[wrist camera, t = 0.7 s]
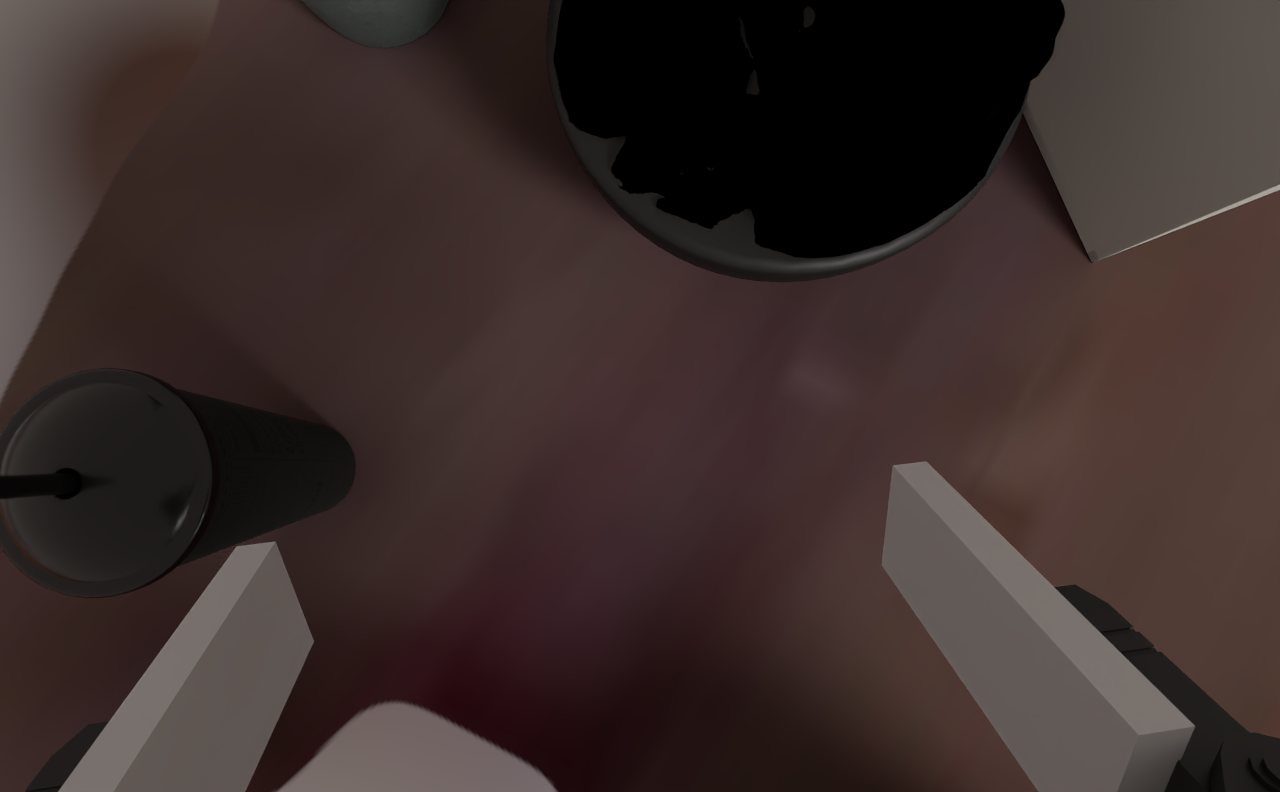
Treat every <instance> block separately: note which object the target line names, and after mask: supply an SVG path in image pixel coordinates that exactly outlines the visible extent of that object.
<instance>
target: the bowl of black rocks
mask: <svg viewBox="0 0 1280 792" xmlns="http://www.w3.org/2000/svg"><path fill="white" fill-rule="evenodd" d="M1064 18H1065V9H1064V5H1063V3H1062V2H1061V0H551V1H550V7H549V13H548V19H547V36H546V50H547V67H548V74H549V80H550V87H551V91H552V95H553V99H554V103H555V107H556V110H557V113H558V115H559V118H560V121H561V124H562V126H563V129H564V132H565V134H566V136H567V138H568V140H569V143H570V145H571V147H572V149H573V151H574V153H575V155H576V157H577V159H578V161H579V162H580V164H581V165H582V167H583V169H584V170H585V172H586V174H587V175H588V177H589V178H590V180H591V181H592V183H593V184H594V185H595V187H596V188H597V189H598V191H599V192H600V193H601V195H602V196H603V197H604V198H605V200H606V201H607V202H608V203H609V204H610V205H611V207H612V208H613V209H614V210H615V211H616V212H617V213H618V214H619V215H620V216H621V217H622V218H623V219H624V220H625V221H626V222H627V223H629V224H630V225H631V226H632V227H633V228H634V229H635V230H637V231H638V232H639V233H640V234H642V235H643V236H644V237H646V238H647V239H649V240H650V241H651V242H653V243H654V244H656V245H657V246H658V247H660V248H662V249H663V250H665V251H667V252H669V253H670V254H672V255H674V256H676V257H677V258H680V259H682V260H684V261H686V262H688V263H691V264H693V265H695V266H697V267H700V268H703V269H706V270H709V271H712V272H715V273H718V274H722V275H727V276H731V277H735V278H740V279H747V280H755V281H769V282H794V281H809V280H815V279H822V278H829V277H833V276H837V275H841V274H844V273H848V272H852V271H856V270H859V269H861V268H864V267H867V266H870V265H873V264H875V263H878V262H880V261H883V260H885V259H887V258H889V257H891V256H893V255H895V254H897V253H899V252H902V251H904V250H906V249H907V248H909V247H911V246H912V245H914V244H916V243H917V242H919V241H921V240H922V239H924V238H926V237H927V236H929V235H931V234H932V233H933V232H935V231H936V230H937V229H939V228H940V227H941V226H943V225H944V224H945V223H947V222H948V221H949V220H951V219H952V218H953V217H954V216H955V215H956V214H957V213H958V212H959V211H960V210H962V209H963V208H964V207H965V206H966V205H967V204H968V203H969V202H970V201H971V199H972V198H973V197H974V196H975V195H976V194H977V193H978V192H979V190H980V189H981V188H982V187H983V186H984V184H985V183H986V182H987V180H988V179H989V177H990V176H991V175H992V173H993V172H994V170H995V169H996V168H997V166H998V164H999V162H1000V161H1001V159H1002V157H1003V155H1004V154H1005V152H1006V150H1007V148H1008V147H1009V145H1010V143H1011V141H1012V138H1013V136H1014V134H1015V132H1016V129H1017V127H1018V125H1019V123H1020V120H1021V117H1022V113H1023V110H1024V107H1025V104H1026V101H1027V96H1028V92H1029V87H1030V82H1031V80H1033V79H1034V78H1036V77H1038V75H1039V74H1040V72H1041V71H1042V69H1043V68H1044V67H1045V65H1046V64H1047V63H1048V62H1049V60H1050V58H1051V57H1052V54H1053V52H1054V46H1055V38H1056V36H1057V34H1058V32H1059V30H1060V28H1061V26H1062V24H1063V21H1064Z"/></svg>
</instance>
